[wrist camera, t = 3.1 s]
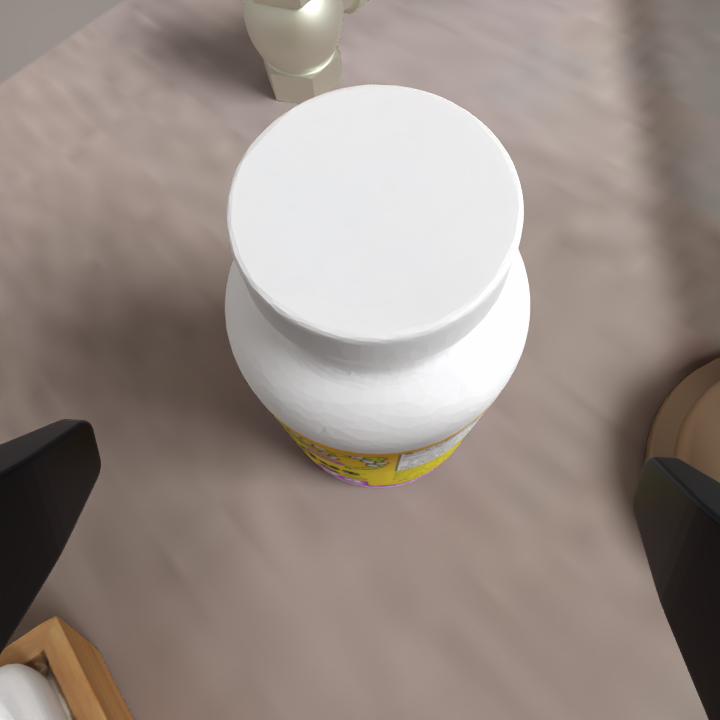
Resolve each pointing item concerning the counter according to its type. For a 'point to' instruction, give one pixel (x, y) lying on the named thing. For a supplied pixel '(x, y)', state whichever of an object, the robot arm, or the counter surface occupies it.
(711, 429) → the beige saucer
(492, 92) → the counter surface
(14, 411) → the counter surface
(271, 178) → the supplement bottle
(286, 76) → the valve
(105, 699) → the soap dish
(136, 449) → the counter surface
